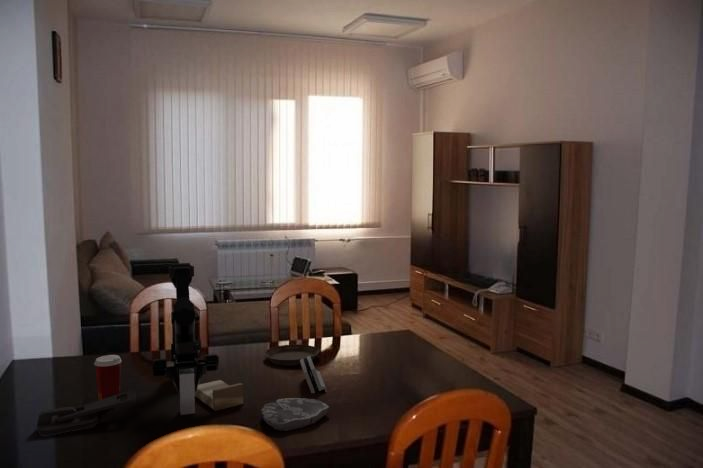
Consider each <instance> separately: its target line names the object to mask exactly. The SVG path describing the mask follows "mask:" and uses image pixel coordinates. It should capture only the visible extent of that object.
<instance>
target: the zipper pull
mask: <svg viewBox="0 0 703 468" xmlns="http://www.w3.org/2000/svg"><path fill="white" fill-rule="evenodd" d="M126 397H127V399H125V400H120V402H117V399H119V398H120V399H121V398H126ZM136 400H137V394H136V392H135V391H133V390H127V391H126V392H122V393H121V392H120V394H118V395H115V396H111V397H108V398H105V399H101V400H99V399H98V400H96V401H92V402H88V403H85V404H82V405H78V406H66V407H59V408H53V409H47V410H42V411H41V412H40V413H39V415H38V417H37V423H36V431H37V432H38V433H39V434H40V435H54V436H57V435H56V434H59V435H62V434H61V433H64V434H66V433H65V432H69V433H71V432H70V431H74V432H77V431H76V430H79V431H83V430H82V429H84V430H87V429H88V428H89V429H92V428H94V427H96V425H98V423H99V419H98V417H99V416H98V413H97V412H102V411H105V410H110V409H115V408H117V407H121V406H122V407H123V406H126V405H129V404H133V403H135V402H136Z"/></svg>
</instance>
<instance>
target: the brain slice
mask: <svg viewBox="0 0 703 468" xmlns="http://www.w3.org/2000/svg"><path fill="white" fill-rule="evenodd" d="M329 407H330V406H329V405H328V404H327V403H325V402H322V401H321V400H319V399H315V398H305V397H303V398H299V397H287V398H278V399H276V400H275V402H268V403H265V404H264V403H263V405H262V407H261V409H260V411H261V415H262V419H263V421H264V422H266V424H267V425H268V426H270V427H272V428H273V429H274V430H275V431H280V432H282V431H283V432H287V431H291V430H296V429H303V428H304V427H307V426H311V425H314V424H316V422H318V421H319V420H321V419H323V417H324V416H325V415H326V414H327V412H328V410H329Z"/></svg>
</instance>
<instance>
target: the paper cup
mask: <svg viewBox="0 0 703 468" xmlns="http://www.w3.org/2000/svg"><path fill="white" fill-rule="evenodd" d="M93 365H94V366H95V373H96V374H95V375H96V384H97V385H96V386H97V395H98V400H101V399H105V398H108V397H111V396H115V395H118V394H121V371H122V370H121V367H122V359H121V357H120V355H117V354H108V355H102V356H100V357H97V358H96V359H95V361H94V363H93ZM117 402H121V398H119V399H117Z"/></svg>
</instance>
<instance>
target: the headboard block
mask: <svg viewBox="0 0 703 468" xmlns="http://www.w3.org/2000/svg"><path fill="white" fill-rule="evenodd" d="M194 392H195V397H196V398H197V399H198V400H200V401H201V402H203V403H204V404H205V405H207V406H208V407H210V408H211V409H212V410H214V411H221V410H224V409H227V408H233V407H236V406H239V405H243V404H244V384H243V383H241V382H238V383H234V384H230V385H229V384H228V383H226V382H225V381H223V380H221V379H218V380H214V381H209V382H205V383H199V384H198V388H197V391H195V385H194Z"/></svg>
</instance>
